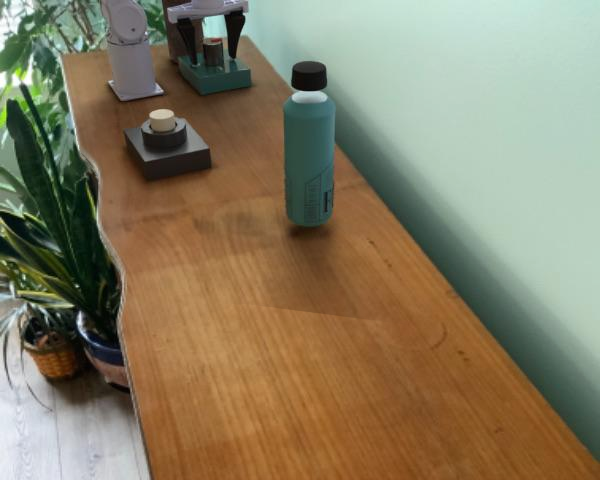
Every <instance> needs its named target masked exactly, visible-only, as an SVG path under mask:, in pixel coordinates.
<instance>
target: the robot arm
mask: <svg viewBox="0 0 600 480" xmlns="http://www.w3.org/2000/svg"><path fill="white" fill-rule="evenodd" d="M98 1H99V2H98V3H99V10H100V13H101V15H102V17H103V19H104V20H105V21H106V23H107V24H108V27H107V30H106V33H105V39H106V52H107V56H108V61H109V66H110V71H111V75H112V79H111V80H108V82H107V83H108V85H109V86H110V88H111V89H112V91H113V92H114V93H115V95H116V96H117V97H118V99H119V100H120V101H121V102H126V101H131V100H137V99H142V98H147V97H153V96H159V95H163V94H164V90H163V88H161V86H160V85H159V84H158V83H157V81H156V75H155V70H154V63H153V62H154V61H153V56H152V50H151V45H150V37H149V32H148V31H147V30H148V17H147V14H146V11H145V10H144V9H143V7H142V6H141V5H140V4H139V3H138V2H137V1H136V0H98ZM191 1H192V2H191V3H187V4H183V5H180V6H176V7H171V8H167V11H168V19H169V21H170V22H171V23H174V24H175V26H176V28H177V29H178V31H179V33H180V35H181V37H182V39H183V41H184V44H185V46H186V49H187V51H188V54H189V58H190V62H191V63H192V64H193V65H197V54H196V47H195V27H194V26H192V22H190V19H197V18H202V19H205V18H210V17H218V16H223V17H224V25H225V29H226V40H227V49H228V53H229V56H230V57H231V58H232V59H236V57H237V54H238V53H237V52H238V46H239V41H240V37H241V34H242V31H243V29H244V27H245V24H246V15H245V14H247V13H250V11H249V0H191Z"/></svg>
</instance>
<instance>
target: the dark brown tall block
mask: <svg viewBox="0 0 600 480" xmlns="http://www.w3.org/2000/svg"><path fill="white" fill-rule="evenodd" d="M191 2H192V1H191V0H161V5H162V7H161V8H162V13H163V20H164V21H163V22H164V28H165V34H166V42H167V47H168V53H169V57H170V59H171V60H173V61H174V63H176V64H178V65H179V59H178V56H184V55H189V54H188V51H187V49H186V46H185V44H184V41H183V39H182V37H181V35H180V33H179V31H178V29H177V28H176V26H175V24H174V23H171V22H170V21H169V19H168V11H167V8H171V7H176V6H180V5H183V4H187V3H191ZM190 22H192V26H194V27H195V47H196V53H202V49H201V40H202V39H205V35H204V27H203V18H197V19H190Z"/></svg>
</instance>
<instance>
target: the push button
mask: <svg viewBox="0 0 600 480" xmlns="http://www.w3.org/2000/svg"><path fill="white" fill-rule="evenodd" d="M148 116H149V119H150V123H151V128H152V130H154V131H163V132H164V131H169V130H172V129H174V128H175V127H176V126H175V119H174V117H175V113H174V112H173V111H172V110H170V109H167V108H165V109H164V108H163V109H155V110H153V111H150V113H149V115H148Z"/></svg>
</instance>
